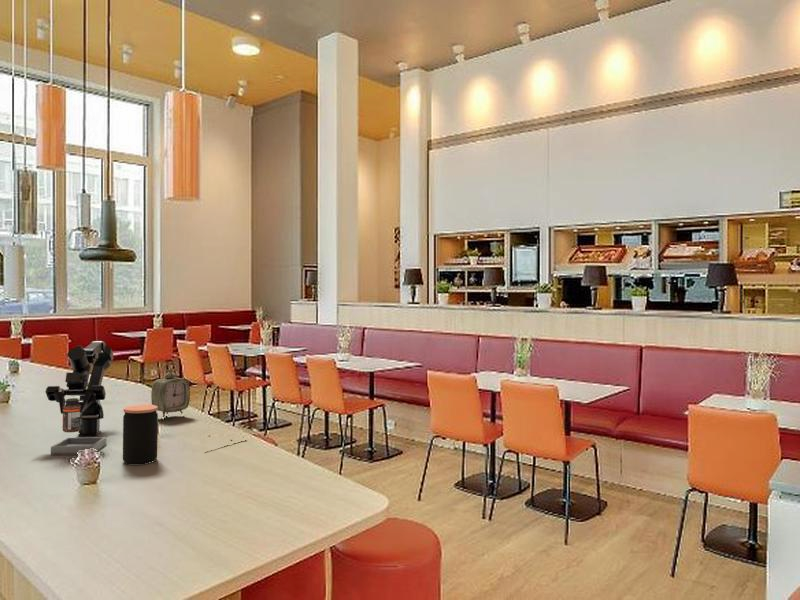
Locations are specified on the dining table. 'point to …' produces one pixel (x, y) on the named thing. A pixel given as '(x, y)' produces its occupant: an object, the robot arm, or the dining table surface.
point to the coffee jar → (140, 434)
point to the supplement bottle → (72, 416)
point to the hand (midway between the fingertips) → (71, 412)
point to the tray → (77, 445)
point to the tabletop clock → (170, 392)
